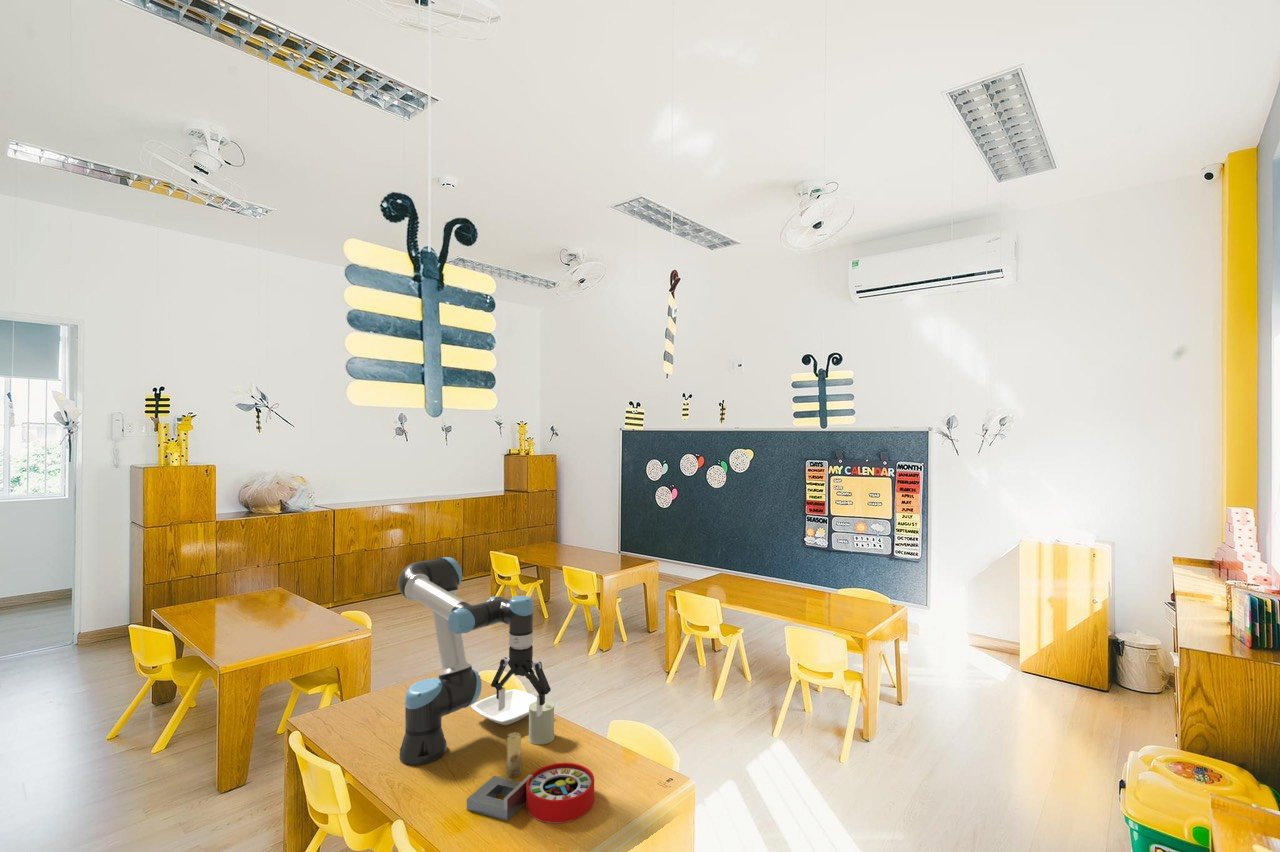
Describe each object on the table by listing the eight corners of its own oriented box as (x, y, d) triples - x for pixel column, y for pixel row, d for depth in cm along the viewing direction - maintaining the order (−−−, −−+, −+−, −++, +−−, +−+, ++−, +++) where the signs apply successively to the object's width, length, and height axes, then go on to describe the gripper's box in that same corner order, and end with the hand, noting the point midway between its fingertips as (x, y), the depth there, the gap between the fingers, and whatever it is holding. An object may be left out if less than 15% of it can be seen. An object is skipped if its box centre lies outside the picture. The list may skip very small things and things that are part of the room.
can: (549, 746, 204) (549, 711, 205) (524, 743, 206) (524, 709, 206) (558, 733, 213) (558, 700, 214) (534, 730, 215) (534, 697, 215)
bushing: (503, 776, 186) (503, 737, 186) (511, 769, 190) (511, 731, 190) (515, 779, 184) (515, 740, 184) (523, 771, 188) (523, 734, 188)
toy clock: (582, 756, 186) (603, 790, 167) (582, 775, 186) (603, 811, 167) (519, 771, 178) (534, 808, 159) (519, 790, 178) (534, 830, 159)
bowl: (465, 721, 223) (465, 705, 223) (514, 700, 241) (514, 686, 241) (499, 740, 208) (500, 724, 209) (550, 717, 226) (550, 702, 226)
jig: (466, 809, 169) (466, 788, 169) (494, 785, 181) (494, 765, 181) (507, 821, 163) (507, 799, 163) (532, 795, 175) (532, 775, 176)
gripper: (480, 645, 189) (480, 711, 189) (551, 653, 182) (550, 722, 181) (493, 638, 196) (492, 701, 196) (561, 645, 189) (560, 712, 189)
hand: (520, 712), depth 189 cm, fingers open, 13 cm apart
